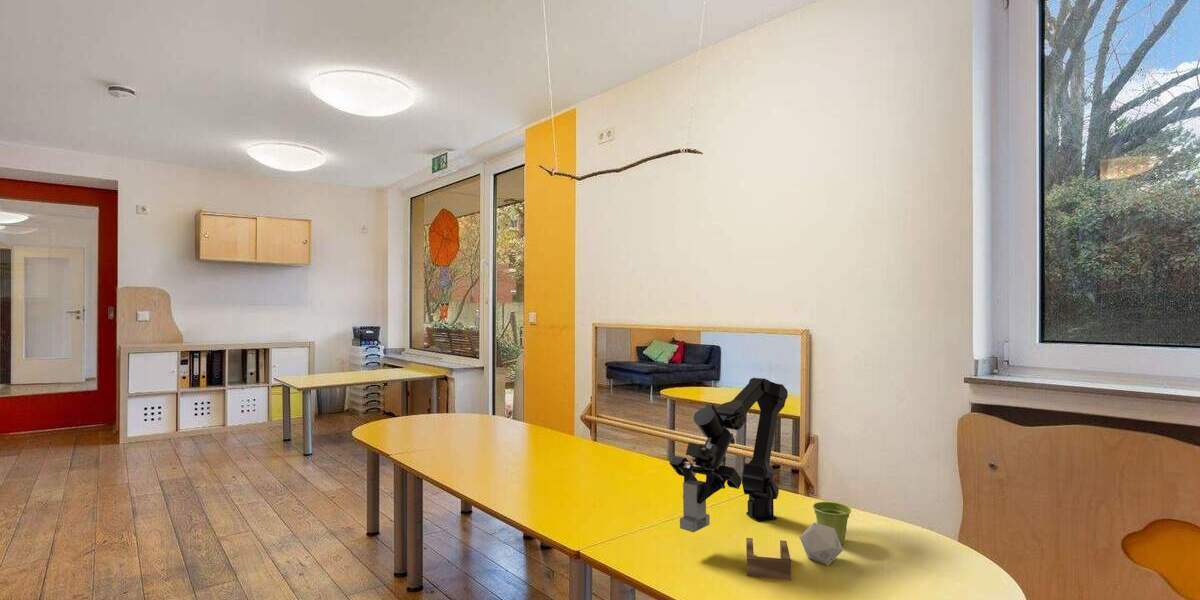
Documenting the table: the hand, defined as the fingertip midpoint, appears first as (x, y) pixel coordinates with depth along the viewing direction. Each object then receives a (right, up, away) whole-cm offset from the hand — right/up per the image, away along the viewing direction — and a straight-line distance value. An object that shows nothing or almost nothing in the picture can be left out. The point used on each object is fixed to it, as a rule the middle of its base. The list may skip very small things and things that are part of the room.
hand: (691, 500), depth 145 cm
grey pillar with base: (+1, -7, +1) cm, 7 cm away
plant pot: (+38, -13, +7) cm, 41 cm away
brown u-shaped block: (+17, -13, -7) cm, 22 cm away
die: (+31, -13, -4) cm, 34 cm away
